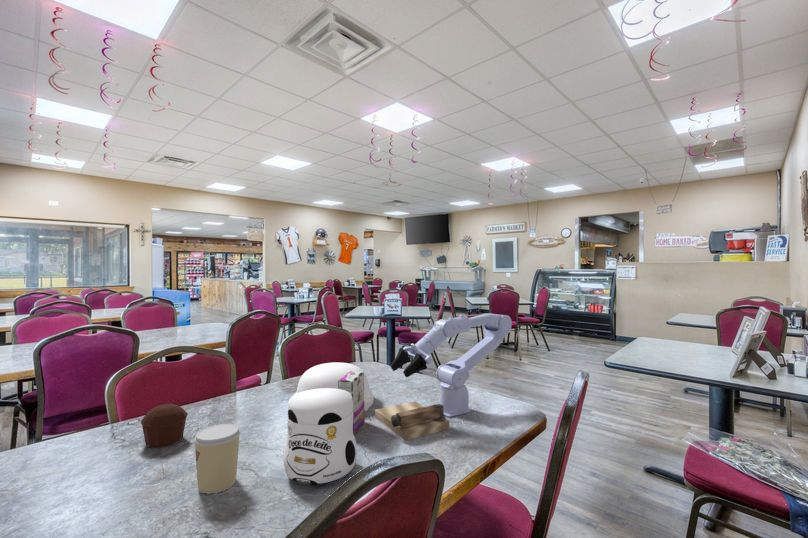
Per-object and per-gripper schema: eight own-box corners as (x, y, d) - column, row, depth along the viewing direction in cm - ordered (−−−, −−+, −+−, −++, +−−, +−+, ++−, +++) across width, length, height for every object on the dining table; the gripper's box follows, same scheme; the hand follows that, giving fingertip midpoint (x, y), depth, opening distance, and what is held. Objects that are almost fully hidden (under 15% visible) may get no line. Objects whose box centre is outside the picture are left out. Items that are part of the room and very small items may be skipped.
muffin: (196, 435, 108) (197, 402, 108) (161, 453, 98) (161, 415, 98) (167, 430, 112) (167, 397, 112) (130, 446, 101) (130, 410, 102)
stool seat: (415, 408, 130) (415, 399, 130) (450, 428, 113) (450, 418, 113) (375, 417, 122) (375, 407, 122) (405, 440, 105) (405, 429, 105)
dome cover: (391, 398, 141) (391, 362, 141) (338, 426, 115) (338, 381, 115) (330, 385, 158) (330, 353, 158) (272, 406, 132) (272, 368, 132)
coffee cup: (205, 473, 87) (206, 423, 87) (245, 472, 88) (246, 422, 88) (185, 497, 78) (186, 441, 78) (230, 495, 79) (230, 439, 79)
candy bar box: (350, 420, 119) (350, 370, 120) (364, 421, 118) (364, 371, 119) (337, 435, 108) (337, 379, 109) (353, 436, 107) (353, 380, 108)
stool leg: (439, 413, 116) (439, 403, 116) (445, 416, 114) (445, 406, 114) (391, 424, 108) (391, 413, 108) (396, 428, 105) (396, 417, 105)
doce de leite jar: (287, 501, 77) (287, 415, 77) (280, 462, 92) (280, 391, 93) (365, 482, 84) (365, 404, 84) (346, 449, 99) (346, 383, 100)
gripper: (410, 331, 127) (381, 356, 120) (435, 339, 114) (405, 367, 108) (418, 347, 129) (390, 372, 123) (445, 356, 117) (415, 385, 110)
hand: (398, 371), depth 116 cm, fingers open, 7 cm apart
